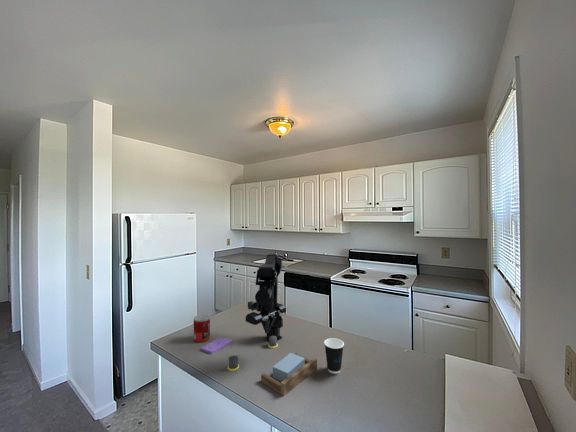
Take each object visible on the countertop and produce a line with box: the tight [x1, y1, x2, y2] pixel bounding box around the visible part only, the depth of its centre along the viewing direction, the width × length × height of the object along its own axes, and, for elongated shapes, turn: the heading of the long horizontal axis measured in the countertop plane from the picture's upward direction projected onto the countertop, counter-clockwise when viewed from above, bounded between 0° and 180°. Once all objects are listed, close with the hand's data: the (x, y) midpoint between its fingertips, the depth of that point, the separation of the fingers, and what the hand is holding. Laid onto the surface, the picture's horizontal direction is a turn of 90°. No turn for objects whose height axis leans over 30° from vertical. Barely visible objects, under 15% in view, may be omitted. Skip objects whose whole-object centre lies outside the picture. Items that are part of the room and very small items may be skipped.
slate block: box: [272, 352, 306, 383], centre depth 100 cm, size 12×7×4 cm, turn 144°
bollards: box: [227, 336, 279, 372], centre depth 112 cm, size 28×5×4 cm, turn 139°
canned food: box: [193, 314, 211, 343], centre depth 128 cm, size 8×8×11 cm
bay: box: [260, 352, 318, 397], centre depth 99 cm, size 20×12×4 cm, turn 139°
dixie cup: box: [323, 337, 345, 375], centre depth 102 cm, size 8×8×11 cm
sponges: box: [201, 336, 232, 355], centre depth 121 cm, size 7×13×2 cm, turn 148°
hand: (266, 333), depth 107 cm, fingers closed
